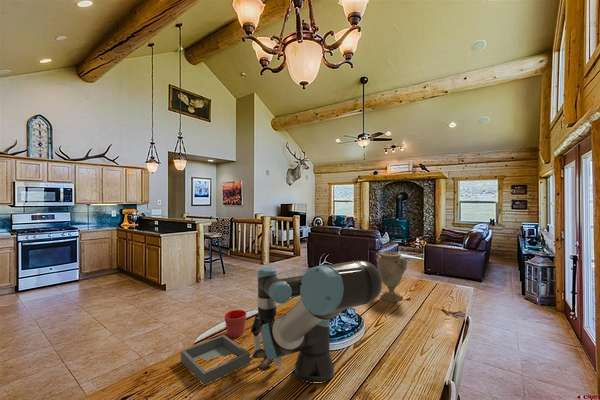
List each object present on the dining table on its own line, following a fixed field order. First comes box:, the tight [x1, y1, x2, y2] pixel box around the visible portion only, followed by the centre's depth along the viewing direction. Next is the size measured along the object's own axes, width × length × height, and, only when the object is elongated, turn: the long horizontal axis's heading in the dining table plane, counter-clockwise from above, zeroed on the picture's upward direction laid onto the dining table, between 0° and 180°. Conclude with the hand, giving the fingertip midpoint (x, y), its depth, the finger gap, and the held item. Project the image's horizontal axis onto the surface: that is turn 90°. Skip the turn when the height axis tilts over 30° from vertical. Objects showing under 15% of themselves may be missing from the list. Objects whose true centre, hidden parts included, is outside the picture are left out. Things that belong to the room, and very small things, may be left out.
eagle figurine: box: [252, 348, 274, 371], centre depth 114 cm, size 8×7×9 cm
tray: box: [180, 334, 251, 385], centre depth 115 cm, size 21×19×4 cm
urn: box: [375, 251, 408, 303], centre depth 187 cm, size 24×18×30 cm
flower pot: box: [224, 309, 247, 338], centre depth 140 cm, size 11×11×10 cm
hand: (267, 357), depth 116 cm, fingers open, 13 cm apart
